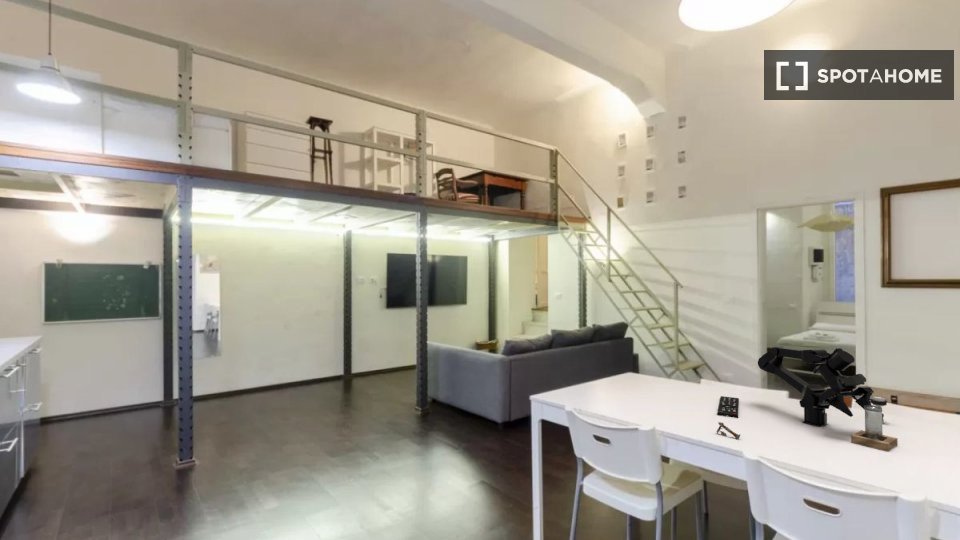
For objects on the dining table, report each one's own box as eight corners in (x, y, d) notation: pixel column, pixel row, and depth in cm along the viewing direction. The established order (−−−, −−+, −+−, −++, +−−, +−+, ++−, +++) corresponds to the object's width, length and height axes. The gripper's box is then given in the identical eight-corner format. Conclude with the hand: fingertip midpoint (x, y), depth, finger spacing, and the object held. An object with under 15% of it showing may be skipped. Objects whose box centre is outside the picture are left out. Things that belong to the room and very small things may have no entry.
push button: (887, 426, 176) (886, 400, 176) (869, 423, 180) (868, 398, 180) (888, 422, 181) (887, 397, 181) (870, 419, 184) (870, 395, 185)
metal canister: (861, 441, 160) (860, 405, 160) (874, 441, 160) (873, 404, 160) (873, 446, 155) (872, 408, 155) (886, 446, 155) (885, 408, 155)
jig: (851, 442, 159) (851, 435, 159) (861, 437, 164) (861, 430, 164) (888, 451, 150) (887, 444, 150) (897, 445, 156) (897, 438, 156)
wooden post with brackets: (715, 429, 170) (720, 420, 169) (735, 444, 164) (741, 434, 163) (713, 430, 169) (718, 421, 168) (733, 445, 163) (738, 435, 162)
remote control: (717, 416, 191) (717, 411, 191) (720, 399, 218) (720, 395, 218) (738, 419, 187) (737, 414, 187) (738, 401, 214) (738, 397, 214)
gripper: (826, 367, 165) (857, 405, 154) (868, 365, 168) (901, 403, 157) (807, 383, 173) (835, 421, 162) (847, 380, 176) (877, 418, 165)
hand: (862, 415), depth 161 cm, fingers open, 9 cm apart
